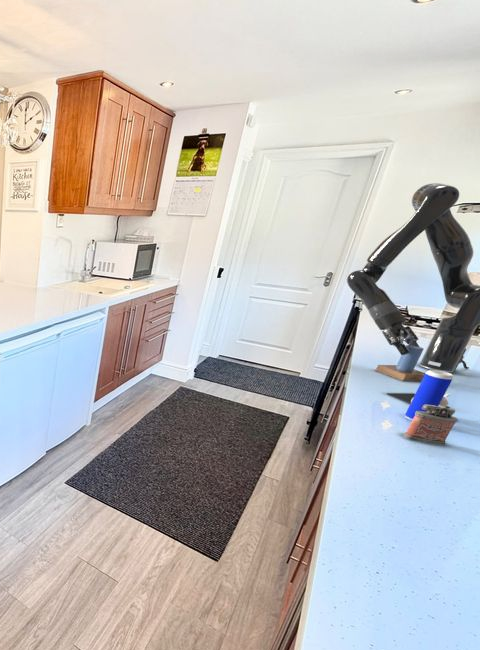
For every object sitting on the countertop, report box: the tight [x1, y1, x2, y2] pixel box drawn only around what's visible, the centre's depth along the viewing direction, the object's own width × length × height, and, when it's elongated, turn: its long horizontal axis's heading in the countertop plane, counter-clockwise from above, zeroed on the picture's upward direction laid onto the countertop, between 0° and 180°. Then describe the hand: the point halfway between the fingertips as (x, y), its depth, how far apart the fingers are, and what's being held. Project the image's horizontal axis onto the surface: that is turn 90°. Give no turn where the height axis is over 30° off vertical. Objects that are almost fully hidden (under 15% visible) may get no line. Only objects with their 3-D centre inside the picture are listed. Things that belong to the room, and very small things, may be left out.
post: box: [396, 344, 424, 372], centre depth 148 cm, size 5×5×9 cm
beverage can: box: [404, 369, 454, 421], centre depth 115 cm, size 5×5×15 cm
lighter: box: [403, 404, 459, 446], centre depth 105 cm, size 8×3×10 cm, turn 71°
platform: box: [375, 364, 426, 382], centre depth 151 cm, size 10×10×2 cm
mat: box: [386, 392, 450, 408], centre depth 130 cm, size 10×10×1 cm
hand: (412, 353), depth 148 cm, fingers open, 8 cm apart
